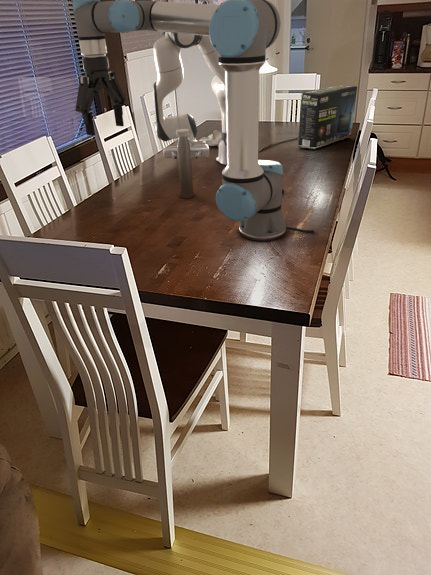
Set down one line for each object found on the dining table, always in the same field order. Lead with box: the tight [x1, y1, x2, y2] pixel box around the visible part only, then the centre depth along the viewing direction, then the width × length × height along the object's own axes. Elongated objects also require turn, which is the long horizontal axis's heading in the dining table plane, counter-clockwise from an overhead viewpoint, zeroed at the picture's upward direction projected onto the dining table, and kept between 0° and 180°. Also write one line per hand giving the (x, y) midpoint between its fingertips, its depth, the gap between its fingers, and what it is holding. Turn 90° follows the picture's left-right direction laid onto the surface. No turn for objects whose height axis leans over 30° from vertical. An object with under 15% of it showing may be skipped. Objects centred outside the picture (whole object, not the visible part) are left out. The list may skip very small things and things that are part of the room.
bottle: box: [176, 136, 194, 199], centre depth 175 cm, size 5×5×25 cm
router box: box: [297, 84, 358, 151], centre depth 238 cm, size 36×11×27 cm, turn 134°
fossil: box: [199, 129, 222, 148], centre depth 250 cm, size 18×11×15 cm
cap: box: [176, 129, 189, 137], centre depth 169 cm, size 4×4×2 cm
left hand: (186, 156), depth 195 cm, fingers open, 8 cm apart
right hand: (106, 130), depth 146 cm, fingers open, 13 cm apart
